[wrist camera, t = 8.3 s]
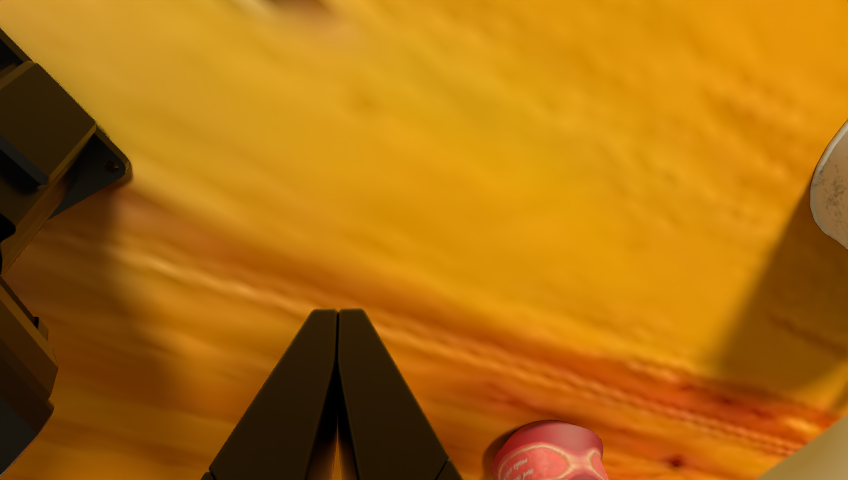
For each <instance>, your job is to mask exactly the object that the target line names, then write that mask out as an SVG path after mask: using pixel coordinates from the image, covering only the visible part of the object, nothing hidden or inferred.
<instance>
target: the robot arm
mask: <svg viewBox="0 0 848 480" xmlns="http://www.w3.org/2000/svg"><path fill="white" fill-rule="evenodd" d="M108 161H114V162H115V163H117V165H118V166H119V167H118V168H115V167H112V166H111V165H109V163H108ZM128 168H129V160H128V159H127V157H126V156H125V155H124V154H123V153H122V152H121V151H120V150H119V149H118V148H117V147H116V146H115V145H114V143H113V142H112V141H111V140H110V139H109V138H108V137H107V136H106V135H105V134H104V133H103V132H102V131H101V130H100V129H99V128H98V127H97V126H96V124H95V121H94V120H93V119H92V118H91V117H90V116H89V115H88V114H87V113H86V112H85V111H84V110H83V109H82V108H81V107H80V106H79V105H78V104H77V103H76V102H75V100H74V99H73V98H72V97H71V96H70V95H69V94H68V93H67V92H66V91H65V90H64V89H63V88H62V87H61V86H60V85H59V84H58V83H57V82H56V81H55V80H54V79H53V78H52V77H51V76H50V75H49V74H48V73H47V72H46V71H45V70H44V69H43V68H42V67H41V66H40V65H39V64H37V63H34V62H33V61H32V60H31V59H30V58H29V57H28V56H27V55H26V54H25V53H24V52H23V51H22V50H21V49H20V48H19V47H18V46H17V45H16V44H15V43H14V42H13V41H12V40H11V39H10V38H9V37H8V36H7V35H6V34H5V33H4V32H3V31H2V30H1V29H0V477H1V476H2V475H3V474H4V473H5V472H6V471H7V470H8V469H9V468H10V467H11V466H12V465H13V464H14V463H15V462H16V460H17V459H18V458H19V457H20V456H21V455H22V454H23V453H24V452H25V451H26V449H27V448H28V447H29V446H30V445H31V444H32V443H33V442H34V441H35V440H36V438H37V437H38V435H39V434H40V432H41V431H42V429H43V428H44V426H45V425H46V423H47V421H48V420H49V418H50V417H51V415H52V413H53V410H54V405H53V403H52V402H51V401H50V400H49V397H50V395H51V392H52V389H53V385H54V381H55V378H56V374H57V370H58V366H57V362H56V358H55V354H54V350H53V348H52V347H51V346H50V344H49V343H48V342H47V338H48V328H47V327H46V326H45V325H44V324H43V322H42V321H41V320H40V319H39V317H33V316H32V314H31V313H30V312H29V311H28V310H27V308H26V307H25V306H24V305H23V303H22V302H21V301H20V300H19V298H18V297H17V296H16V295H15V294H14V292H13V291H12V290H11V289H10V287H9V286H8V285H7V284H6V282H5V281H4V280H3V279H2V277H3V275H4V274H5V273H6V272H7V270H8V269H9V268H10V267H11V265H12V264H13V263H14V261H15V260H16V259H17V258H18V256H19V255H20V254H21V253H22V251H23V250H24V249H25V247H26V246H27V245H28V244H29V242H30V241H31V240H32V239H33V237H34V236H35V235H36V233H37V232H38V231H39V230H40V228H41V227H42V226H43V225H44V223H45V222H46V221H47V220H49V219H50V218H52V217H54V216H55V215H57V214H59V213H61V212H62V211H64V210H66V209H67V208H69V207H71V206H73V205H74V204H76V203H78V202H80V201H81V200H83V199H85V198H86V197H88V196H90V195H92V194H93V193H95V192H97V191H98V190H100V189H102V188H104V187H105V186H107V185H109V184H110V183H112V182H114V181H116V180H117V179H119V178H121V177H122V176H123V175H124V174H125V173H126V171H127V170H128ZM337 427H338V443H339V455H340V464H341V473H342V480H463V478H462V476H461V475H460V473H459V471H458V470H457V468H456V466H455V464H454V463H453V461H452V460H449V458H450V457H449V455H448V453H447V451H446V450H445V448H444V446H443V444H442V443H441V441H440V439H439V438H438V436H437V434H436V432H435V431H434V429H433V427H432V426H431V424H430V422H429V420H428V419H427V417H426V415H425V414H424V412H423V410H422V408H421V407H420V405H419V403H418V402H417V400H416V398H415V396H414V395H413V393H412V391H411V390H410V388H409V386H408V384H407V383H406V381H405V379H404V378H403V376H402V374H401V372H400V371H399V369H398V367H397V366H396V364H395V362H394V360H393V359H392V357H391V355H390V354H389V352H388V350H387V348H386V347H385V345H384V343H383V342H382V340H381V338H380V336H379V335H378V333H377V331H376V330H375V328H374V326H373V324H372V323H371V321H370V319H369V318H368V316H367V314H366V312H365V311H364V310H363V309H360V308H358V309H341V310H340V311H339V313H338V311H337V310H336V309H315V310H313V311H312V312H311V313H310V315H309V316H308V318H307V319H306V321H305V322H304V324H303V325H302V327H301V328H300V330H299V331H298V333H297V334H296V336H295V338H294V339H293V341H292V342H291V344H290V345H289V347H288V348H287V350H286V351H285V353H284V354H283V356H282V357H281V359H280V360H279V362H278V363H277V365H276V366H275V368H274V369H273V371H272V372H271V374H270V375H269V377H268V379H267V380H266V382H265V383H264V385H263V386H262V388H261V389H260V391H259V392H258V394H257V395H256V397H255V398H254V400H253V401H252V403H251V404H250V406H249V407H248V409H247V410H246V412H245V413H244V415H243V416H242V418H241V420H240V421H239V423H238V424H237V426H236V427H235V429H234V430H233V432H232V433H231V435H230V436H229V438H228V439H227V441H226V442H225V444H224V445H223V447H222V448H221V450H220V451H219V453H218V454H217V456H216V457H215V459H214V461H213V462H212V464H211V465H210V467H209V472H206V473H205V474H204V475H203V477H202V478H201V480H332V473H333V466H334V459H335V452H336V443H337Z"/></svg>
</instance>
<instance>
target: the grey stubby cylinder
mask: <svg viewBox="0 0 848 480" xmlns="http://www.w3.org/2000/svg"><path fill="white" fill-rule="evenodd" d="M809 204H810V208H811V212H812V215H813V219H814V221H815V222H816V223H817V225H818V226H819V227H820V229H821V230H822V231H823V232H824V233H825V234H827V235H828V236H830V237H832V238H833V239H835V240H837V241H838V242H839V243H840V244H841V245H843V246H844V247H845V248H846V249H847V250H848V120H847V121H846V122H845V124H844V125H843V126H842V127H841V129H840V130H839V131H838V133H837V134H836V135H835V136H834V138H833V139H832V140H831V142H830V143H829V144H828V146H827V148H826V150H825V152H824V153H823V155H822V157H821V159H820V161H819V162H818V164H817V167H816V170H815V173H814V176H813V179H812V182H811V186H810V202H809Z"/></svg>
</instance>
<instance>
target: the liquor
mask: <svg viewBox="0 0 848 480" xmlns="http://www.w3.org/2000/svg"><path fill="white" fill-rule="evenodd" d="M602 455H603V444H602V441H601V439H600V438H599V437H598V436H597V435H596V434H595V433H593V432H592V431H590V430H588V429H585V428H582V427H579V426H576V425H573V424H570V423H566V422H563V421H558V420H542V421H537V422H533V423H530V424H528V425H525V426H523V427H521V428H520V429H518V430H517V431H516V432H514V433H513V434H512V435H511V436H510V438H509V439H508V440H507V441H506V443H505V444H504V445H503V446H502V448H501V449H500V450H499V452H498V453H497V454H496V455H495V457H494V459H493V461H492V467H491V470H492V475H493V476H494V478H495V479H496V480H609V479H608V476H607V474H606V472H605V469H604V467H603V465H602V462H601V460H602Z"/></svg>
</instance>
